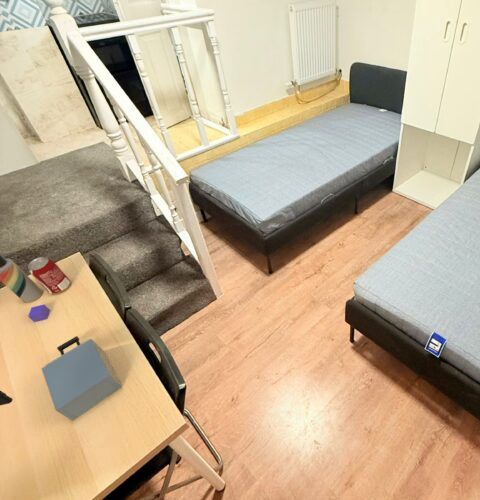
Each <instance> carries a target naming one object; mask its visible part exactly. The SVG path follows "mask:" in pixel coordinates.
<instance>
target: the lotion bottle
mask: <svg viewBox="0 0 480 500" xmlns="http://www.w3.org/2000/svg"><path fill="white" fill-rule="evenodd" d="M0 282H1V283H2V284H3V285H4V286H5V287H7V288H8V289H9V290H10V291H11V292H12V293H13V294H14V295H16V296H17V297H18V298H19V299H20V300H21V301H23V302H24V303H33V302H35V301H37V300H39V298H40V297H41V296H42V295H43V290H42V288H41V287H40V286H38V284H36V283H35V281H34V280H33V279H31V277H30V276H29V275H27V274H26V273H25V271H24V270H22V269H21V267H20V266H19V265H18V264H16V262H15V261H13V260H12V259H11V258H5V257H4V256H3V255H2V254H1V253H0Z"/></svg>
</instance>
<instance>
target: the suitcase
mask: <svg viewBox="0 0 480 500" xmlns="http://www.w3.org/2000/svg"><path fill="white" fill-rule="evenodd" d="M89 339H90V340H89ZM89 339H87V340H88V341H87V340H86V341H87V342H85V341H84V342H85V343H84V342H82V343H83V344H82V343H81V344H82V345H80V346H78V347H77V346H75V347H76V348H75V347H74V348H75V349H73V348H72V349H73V350H72V349H70V350H71V351H70V350H69V351H70V352H68V351H67V352H68V353H67V352H65V353H66V354H65V353H64V354H65V355H63V356H62V355H60V356H61V357H60V356H59V357H60V358H58V357H57V358H58V359H57V358H55V359H56V360H55V359H54V360H55V361H53V360H52V361H53V362H52V361H50V362H51V363H50V362H49V363H50V364H48V363H47V364H48V365H47V364H45V365H46V366H45V365H44V366H43V367H41V372H42V375H43V378H44V380H45V383H46V386H47V389H48V392H49V395H50V398H51V400H52V403H53V406H54V410H55V411H56V412H57V413H59V414H61V415H62V416H64V417H66V418H67V419H68V420H71V421H72V422H73V421H75V420H77V419H78V418H79V417H80V416H83V415H84V414H85V413H87V412H88V411H90V410H91V409H93V408H94V407H96V406H97V405H99V404H100V403H102V402H103V401H104V400H106V399H108V397H111V395H113V394H115V393H116V392H117V391H119V390H120V389H122V388H123V385H122V384H121V381H120V380H119V378H118V376H117V373H116V372H115V369H114V367H113V366H112V364H111V362H110V359H109V358H108V356H107V354H106V351H105V350H103V349H102V348H101V346H100V345H98V344H97V342H95V340H93V339H92V338H89Z"/></svg>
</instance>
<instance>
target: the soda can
mask: <svg viewBox="0 0 480 500" xmlns="http://www.w3.org/2000/svg"><path fill="white" fill-rule="evenodd" d="M27 268H28V272H29V274H30V276H32V277H33V279H35V280H36V282H37V283H39V284H40V285H41V287H43V289H45V291H47V293H49V294H50V295H57V294H60V293H63V292H64V291H66V290H67V289H68V288H69V287H70V285H71V280H70V278H69V277H68V276H67V275H66V274H65V273H64V271H63V270H61V268H60V267H59V265H57V263H56V262H55V260H53V259H50V258H48V257H47V256H40V257H36V258H34V259H33V260H31V261H30V262H29V263H28V265H27Z"/></svg>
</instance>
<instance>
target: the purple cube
mask: <svg viewBox="0 0 480 500" xmlns="http://www.w3.org/2000/svg"><path fill="white" fill-rule="evenodd" d="M50 311H51V309H50V308H48V306H47V305H45V304H40V305H36V306H32V307H31V308H30V309H29V312H28V315H27V316H28V318H29V319H30V320H31V321H32V322H33V323H36V322H40V321H43V320H47V319H48V317H49V314H50Z"/></svg>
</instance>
